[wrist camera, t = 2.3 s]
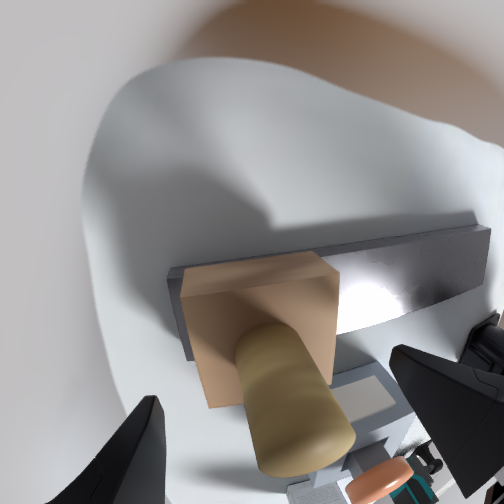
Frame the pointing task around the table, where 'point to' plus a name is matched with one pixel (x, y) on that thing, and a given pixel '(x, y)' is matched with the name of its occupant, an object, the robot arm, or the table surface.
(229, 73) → the table surface
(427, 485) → the surveillance camera
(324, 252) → the rail
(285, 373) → the carriage
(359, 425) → the cabinet
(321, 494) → the skincare box
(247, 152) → the table surface
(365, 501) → the button
